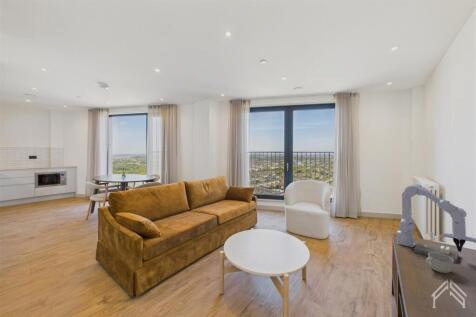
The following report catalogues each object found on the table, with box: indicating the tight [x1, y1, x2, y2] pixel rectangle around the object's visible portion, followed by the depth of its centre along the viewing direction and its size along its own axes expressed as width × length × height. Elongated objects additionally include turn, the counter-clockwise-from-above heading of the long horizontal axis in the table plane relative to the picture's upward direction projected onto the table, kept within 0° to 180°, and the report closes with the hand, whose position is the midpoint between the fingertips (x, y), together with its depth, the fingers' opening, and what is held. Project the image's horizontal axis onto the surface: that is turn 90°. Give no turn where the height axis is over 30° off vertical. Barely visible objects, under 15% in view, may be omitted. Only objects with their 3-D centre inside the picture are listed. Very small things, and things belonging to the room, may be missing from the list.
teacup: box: [425, 252, 455, 274], centre depth 123 cm, size 14×11×8 cm
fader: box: [439, 245, 451, 255], centre depth 138 cm, size 4×5×3 cm
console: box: [413, 243, 459, 263], centre depth 142 cm, size 20×12×2 cm, turn 41°
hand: (459, 251), depth 133 cm, fingers closed
